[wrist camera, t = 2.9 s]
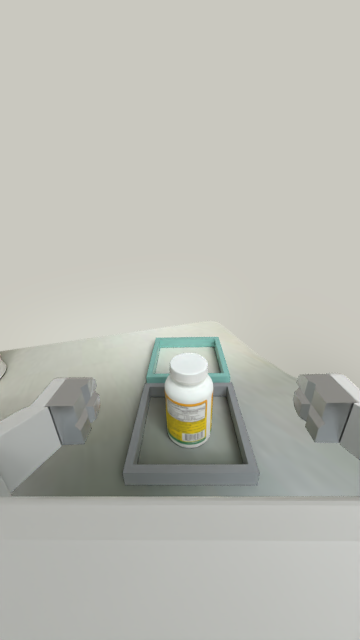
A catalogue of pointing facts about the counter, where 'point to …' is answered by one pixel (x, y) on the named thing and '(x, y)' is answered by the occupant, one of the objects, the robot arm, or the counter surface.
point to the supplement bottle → (189, 400)
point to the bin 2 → (190, 472)
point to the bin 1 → (188, 342)
